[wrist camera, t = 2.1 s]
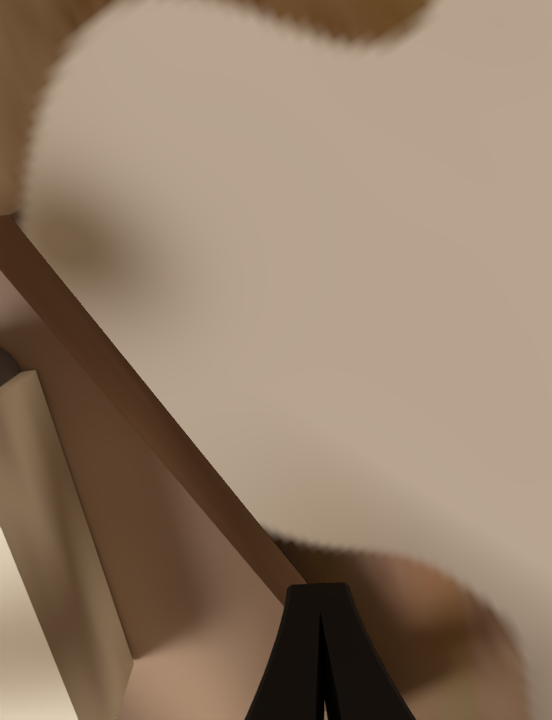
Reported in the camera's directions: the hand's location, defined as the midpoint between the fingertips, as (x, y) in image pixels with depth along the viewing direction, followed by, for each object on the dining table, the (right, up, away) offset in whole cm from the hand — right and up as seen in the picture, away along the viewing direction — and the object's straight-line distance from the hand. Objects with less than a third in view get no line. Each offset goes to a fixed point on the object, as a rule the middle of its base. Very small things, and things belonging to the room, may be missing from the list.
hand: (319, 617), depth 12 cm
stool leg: (-7, +2, +1) cm, 7 cm away
